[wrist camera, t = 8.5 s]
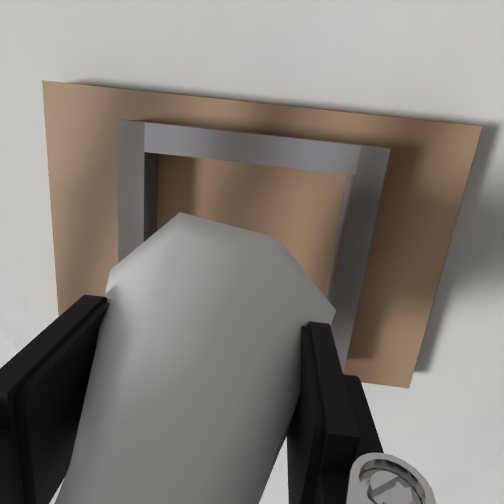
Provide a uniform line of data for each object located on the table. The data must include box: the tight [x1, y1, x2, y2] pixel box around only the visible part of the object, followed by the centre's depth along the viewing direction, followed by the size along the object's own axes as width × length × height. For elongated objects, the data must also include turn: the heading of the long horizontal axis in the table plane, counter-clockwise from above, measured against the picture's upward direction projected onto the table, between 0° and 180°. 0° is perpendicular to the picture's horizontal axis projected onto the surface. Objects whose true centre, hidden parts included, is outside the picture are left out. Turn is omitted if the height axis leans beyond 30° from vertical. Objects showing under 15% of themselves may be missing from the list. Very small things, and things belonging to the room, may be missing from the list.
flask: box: [55, 212, 336, 504], centre depth 7 cm, size 7×7×10 cm
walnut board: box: [42, 81, 482, 388], centre depth 19 cm, size 20×14×4 cm
